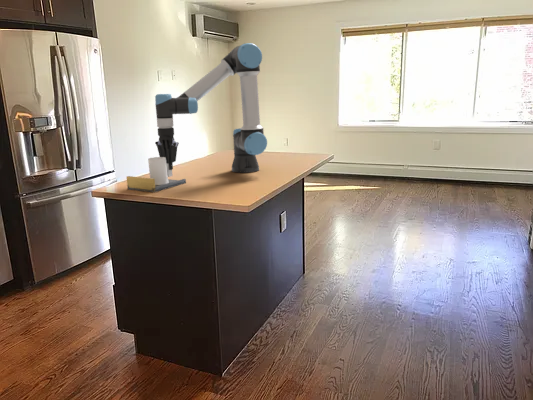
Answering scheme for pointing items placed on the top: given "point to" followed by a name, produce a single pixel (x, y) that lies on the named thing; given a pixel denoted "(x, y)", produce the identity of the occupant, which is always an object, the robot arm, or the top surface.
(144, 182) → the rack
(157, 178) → the mug
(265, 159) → the top surface
